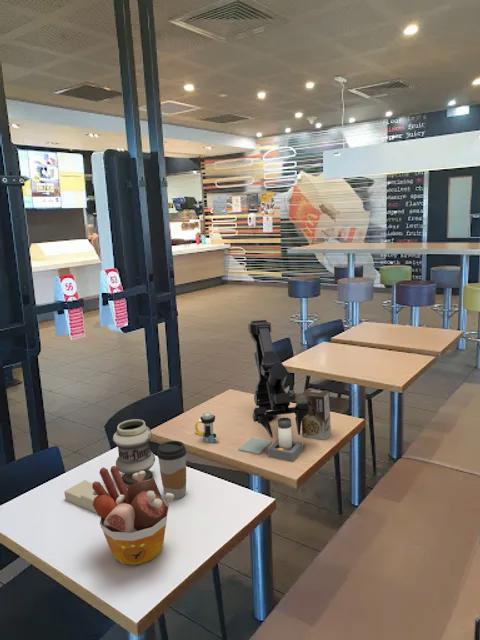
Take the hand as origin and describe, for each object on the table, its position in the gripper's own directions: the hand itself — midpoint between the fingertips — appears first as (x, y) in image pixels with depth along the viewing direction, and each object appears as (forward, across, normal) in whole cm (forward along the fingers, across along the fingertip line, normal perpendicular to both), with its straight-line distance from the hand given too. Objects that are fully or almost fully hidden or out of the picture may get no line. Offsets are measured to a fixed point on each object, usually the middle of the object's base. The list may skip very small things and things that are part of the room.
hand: (285, 435), depth 165 cm
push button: (-8, -24, +18) cm, 31 cm away
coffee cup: (+16, -37, -6) cm, 41 cm away
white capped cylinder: (+4, 0, +6) cm, 7 cm away
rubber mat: (-2, -9, +12) cm, 15 cm away
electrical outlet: (+15, -60, -4) cm, 62 cm away
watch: (-13, -26, +23) cm, 37 cm away
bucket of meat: (+33, -47, -23) cm, 62 cm away
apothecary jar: (+7, -49, +3) cm, 49 cm away
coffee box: (-4, +14, +14) cm, 20 cm away
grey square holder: (+4, 0, +6) cm, 7 cm away
